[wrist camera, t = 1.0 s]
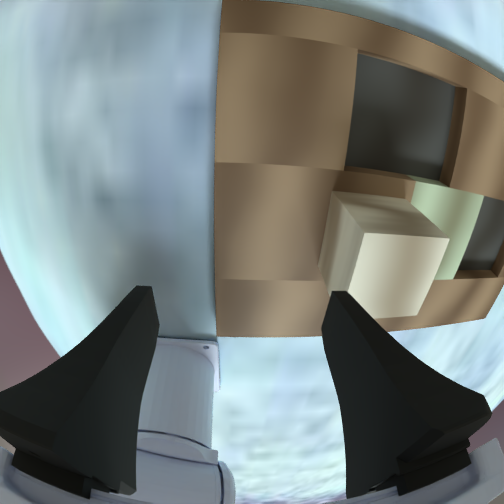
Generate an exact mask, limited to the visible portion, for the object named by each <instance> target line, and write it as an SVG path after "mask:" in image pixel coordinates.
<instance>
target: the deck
mask: <svg viewBox="0 0 504 504" xmlns="http://www.w3.org/2000/svg"><path fill="white" fill-rule="evenodd" d="M332 191H339V192H350V193H360V194H369V195H378V196H386V197H394V198H402V199H406V200H407V201H408V202H410V203H411V204H412V205H413V206H414V207H415V208H417V209H418V210H419V211H420V212H421V213H422V214H424V215H425V216H426V217H427V218H428V219H429V220H430V221H431V222H433V223H434V224H435V225H436V226H437V227H438V228H439V229H440V230H441V231H442V232H443V233H444V234H446V235H447V236H448V237H449V238H450V240H449V242H448V245H447V248H446V250H445V253H444V255H443V258H442V261H441V263H440V265H439V268H438V270H437V273H436V275H435V277H434V280H433V282H432V284H431V286H430V289H429V291H428V293H427V295H426V297H425V299H424V301H423V304H422V306H421V308H420V310H419V312H418V314H417V315H415V316H404V317H391V318H376V319H374V320H375V321H376V322H377V323H378V324H379V325H380V326H381V327H382V328H383V329H384V330H385V331H387V332H390V331H400V330H409V329H418V328H426V327H434V326H441V325H448V324H455V323H461V322H467V321H473V320H479V319H484V318H486V316H487V314H488V312H489V311H490V309H491V307H492V306H493V304H494V302H495V300H496V298H497V297H498V295H499V293H500V291H501V289H502V287H503V285H504V82H503V81H502V80H500V79H499V78H497V77H496V76H494V75H492V74H491V73H489V72H488V71H486V70H484V69H483V68H481V67H479V66H477V65H476V64H474V63H472V62H470V61H468V60H467V59H465V58H463V57H461V56H459V55H457V54H455V53H453V52H451V51H449V50H447V49H445V48H443V47H441V46H438V45H436V44H434V43H432V42H429V41H427V40H425V39H422V38H420V37H418V36H415V35H412V34H410V33H407V32H405V31H402V30H399V29H396V28H393V27H390V26H388V25H384V24H381V23H378V22H375V21H372V20H368V19H365V18H361V17H357V16H353V15H349V14H345V13H341V12H336V11H332V10H327V9H322V8H316V7H311V6H304V5H298V4H290V3H282V2H272V1H259V0H222V11H221V25H220V39H219V56H218V74H217V97H216V125H215V170H214V257H215V303H216V332H217V336H220V337H311V336H322V331H321V327H322V323H323V320H324V317H325V313H326V310H327V306H328V303H329V299H330V296H329V293H328V290H327V288H326V285H325V282H324V280H323V277H322V274H321V272H320V269H319V267H318V262H319V258H320V253H321V248H322V243H323V238H324V232H325V227H326V222H327V216H328V211H329V205H330V199H331V194H332Z"/></svg>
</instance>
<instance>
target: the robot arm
mask: <svg viewBox="0 0 504 504" xmlns="http://www.w3.org/2000/svg"><path fill="white" fill-rule="evenodd" d="M158 330H159V321H158V316H157V312H156V307H155V302H154V297H153V291H152V286H136V287H135V288H134V289H133V290H132V291H131V292H130V293H129V294H128V295H127V296H126V297H125V298H124V299H123V300H122V301H121V302H120V304H119V305H118V306H117V307H116V308H115V309H114V310H113V311H112V312H111V313H110V314H109V315H108V316H107V317H106V318H105V319H104V320H103V321H102V322H101V323H100V324H99V325H98V326H97V327H96V328H95V329H94V330H93V331H92V332H91V333H90V334H89V335H88V336H87V337H86V338H85V339H84V340H82V341H81V342H80V343H79V344H78V345H77V346H75V347H74V348H73V349H72V350H70V351H69V352H68V353H67V354H65V355H64V356H63V357H61V358H60V359H58V360H57V361H55V362H54V363H53V364H51V365H50V366H48V367H47V368H45V369H44V370H42V371H40V372H39V373H37V374H36V375H34V376H32V377H30V378H28V379H27V380H25V381H23V382H21V383H19V384H17V385H15V386H13V387H10V388H8V389H6V390H4V391H1V392H0V436H1V437H2V438H3V439H5V440H6V441H7V442H8V443H10V444H11V445H12V446H13V447H15V448H16V450H15V453H14V455H13V454H12V453H10V452H9V451H8V450H6V449H4V448H3V447H1V446H0V504H235V482H234V478H233V475H232V473H231V471H230V470H229V468H228V467H227V465H226V464H225V463H224V462H222V461H218V451H217V450H212V449H211V441H212V415H213V394H214V392H218V391H220V375H219V353H218V343H217V342H215V341H204V340H186V339H171V338H158ZM321 331H322V338H323V344H324V350H325V354H326V358H327V361H328V365H329V368H330V371H331V375H332V378H333V382H334V385H335V389H336V392H337V396H338V400H339V404H340V410H341V417H342V424H343V433H344V442H345V456H346V497H347V499H345V500H340V501H335V502H330V503H324V504H488V503H489V502H491V501H492V500H493V499H494V498H496V497H497V496H498V495H500V494H501V493H502V492H504V455H503V452H502V450H501V447H500V445H499V442H498V440H497V438H494V439H493V440H491V441H489V442H488V443H486V444H484V445H482V446H481V447H479V448H477V449H476V450H474V451H472V452H471V453H470V454H468V452H467V449H466V448H468V447H469V446H470V442H469V440H468V438H469V437H470V436H471V435H473V434H474V433H475V432H476V431H477V430H479V429H480V428H481V427H482V426H483V425H484V424H485V423H486V422H487V421H488V420H489V419H490V418H491V415H492V412H491V410H490V407H489V405H488V403H487V401H486V399H485V397H484V395H482V394H480V393H478V392H475V391H473V390H471V389H468V388H466V387H464V386H462V385H460V384H458V383H456V382H454V381H452V380H450V379H449V378H447V377H445V376H443V375H442V374H440V373H438V372H437V371H435V370H434V369H432V368H431V367H429V366H428V365H426V364H425V363H423V362H422V361H421V360H419V359H418V358H417V357H415V356H414V355H413V354H412V353H410V352H409V351H408V350H407V349H405V348H404V347H403V346H402V345H401V344H400V343H398V342H397V341H396V340H395V339H394V338H393V337H392V336H391V335H390V334H389V333H388V332H387V331H385V330H384V329H383V328H382V327H381V326H380V325H379V324H378V323H377V322H376V321H375V320H374V319H373V318H372V317H371V315H370V314H369V313H368V312H367V311H366V310H365V309H364V308H363V307H362V306H361V305H360V304H359V303H358V302H357V301H356V300H355V299H354V298H353V297H352V296H351V295H350V294H349V293H348V292H347V291H332V292H331V296H330V299H329V303H328V306H327V310H326V313H325V317H324V320H323V323H322V327H321Z"/></svg>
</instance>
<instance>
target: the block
mask: <svg viewBox="0 0 504 504" xmlns="http://www.w3.org/2000/svg"><path fill="white" fill-rule="evenodd" d="M449 240H450V238H449V237H448V236H447V235H446V234H444V233H443V232H442V231H441V230H440V229H439V228H438V227H437V226H436V225H435V224H434V223H433V222H431V221H430V220H429V219H428V218H427V217H426V216H425V215H424V214H422V213H421V212H420V211H419V210H418V209H417V208H415V207H414V206H413V205H412V204H411V203H410V202H408V201H407V200H406V199H402V198H394V197H386V196H378V195H369V194H360V193H350V192H339V191H332V194H331V199H330V205H329V211H328V216H327V222H326V227H325V232H324V238H323V243H322V248H321V253H320V258H319V262H318V267H319V269H320V272H321V274H322V277H323V280H324V282H325V285H326V288H327V290H328V293H329V296H331V292H332V291H347V292H348V293H349V294H350V295H351V296H352V297H353V298H354V299H355V300H356V301H357V302H358V303H359V304H360V305H361V306H362V307H363V308H364V309H365V310H366V311H367V312H368V313H369V314H370V315H371V317H372V318H373V319H376V318H391V317H404V316H415V315H417V314H418V312H419V310H420V308H421V306H422V304H423V301H424V299H425V297H426V295H427V293H428V291H429V289H430V286H431V284H432V282H433V280H434V277H435V275H436V273H437V270H438V268H439V265H440V263H441V261H442V258H443V255H444V253H445V250H446V248H447V245H448V242H449Z"/></svg>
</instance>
